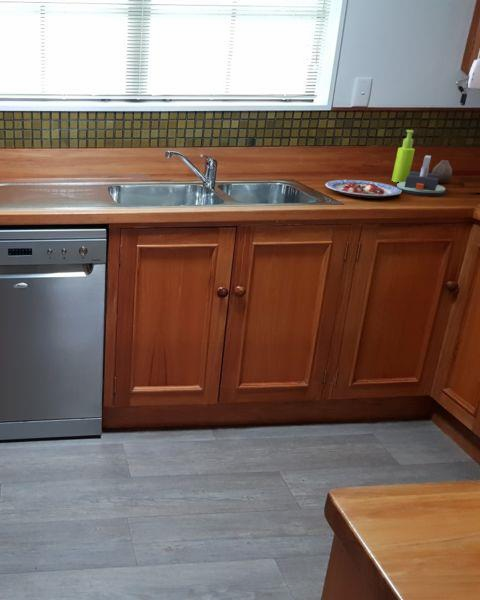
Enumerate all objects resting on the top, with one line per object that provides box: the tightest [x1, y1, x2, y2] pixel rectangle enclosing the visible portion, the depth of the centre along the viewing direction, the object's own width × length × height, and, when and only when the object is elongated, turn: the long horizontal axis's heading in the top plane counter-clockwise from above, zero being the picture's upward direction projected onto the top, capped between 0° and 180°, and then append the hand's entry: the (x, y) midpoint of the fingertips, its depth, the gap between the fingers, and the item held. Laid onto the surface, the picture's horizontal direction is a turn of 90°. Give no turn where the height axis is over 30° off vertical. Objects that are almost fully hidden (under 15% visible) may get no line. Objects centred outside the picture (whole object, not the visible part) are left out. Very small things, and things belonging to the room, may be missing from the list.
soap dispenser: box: [391, 129, 416, 183], centre depth 241 cm, size 6×7×20 cm
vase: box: [431, 159, 453, 185], centre depth 242 cm, size 7×7×9 cm
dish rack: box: [396, 155, 446, 193], centre depth 225 cm, size 16×16×12 cm
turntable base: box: [395, 185, 447, 198], centre depth 228 cm, size 17×17×1 cm
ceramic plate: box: [325, 179, 402, 199], centre depth 224 cm, size 26×26×3 cm
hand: (477, 105), depth 224 cm, fingers open, 9 cm apart
